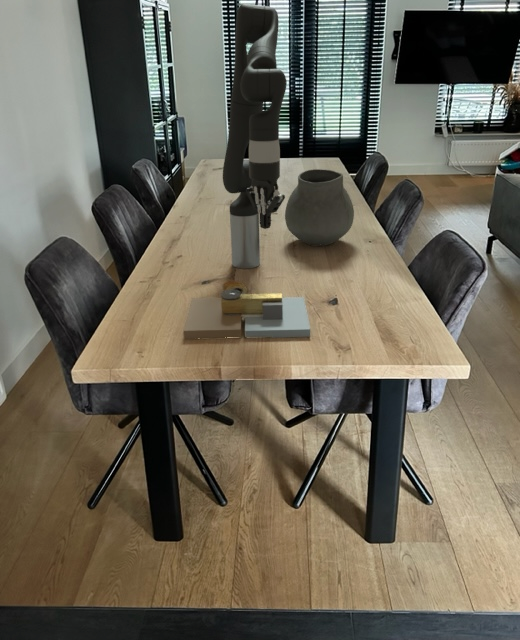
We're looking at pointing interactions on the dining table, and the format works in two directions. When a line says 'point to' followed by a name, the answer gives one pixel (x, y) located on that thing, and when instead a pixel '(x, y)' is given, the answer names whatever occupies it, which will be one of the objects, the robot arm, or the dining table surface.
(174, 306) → the dining table surface
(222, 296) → the swing bar
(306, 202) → the ceramic pot
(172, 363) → the dining table surface
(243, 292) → the pastry
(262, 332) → the door mock-up
